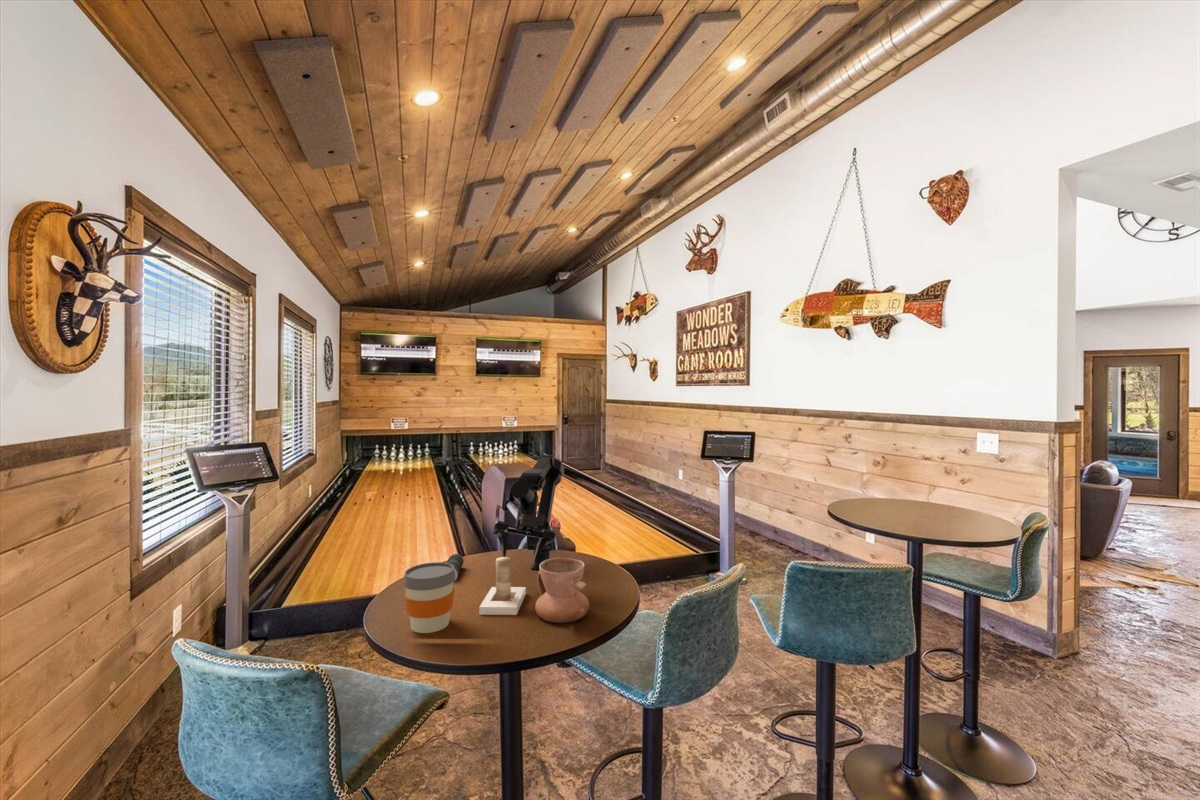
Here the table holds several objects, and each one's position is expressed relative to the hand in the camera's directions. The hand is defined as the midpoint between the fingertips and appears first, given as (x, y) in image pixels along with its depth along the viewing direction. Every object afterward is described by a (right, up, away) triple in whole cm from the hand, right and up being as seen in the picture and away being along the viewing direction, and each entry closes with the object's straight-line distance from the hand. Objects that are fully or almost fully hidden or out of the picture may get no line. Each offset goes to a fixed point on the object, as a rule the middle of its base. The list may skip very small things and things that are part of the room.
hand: (519, 560), depth 153 cm
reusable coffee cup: (-19, -11, -21) cm, 31 cm away
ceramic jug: (+13, -10, -15) cm, 22 cm away
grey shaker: (-25, -10, +17) cm, 31 cm away
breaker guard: (-3, -10, -9) cm, 14 cm away
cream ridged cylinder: (-3, -9, -9) cm, 13 cm away
